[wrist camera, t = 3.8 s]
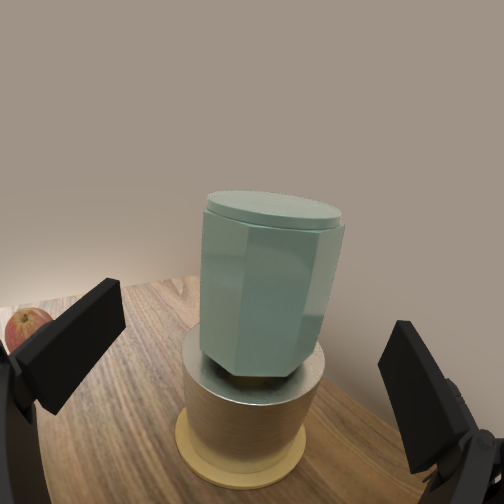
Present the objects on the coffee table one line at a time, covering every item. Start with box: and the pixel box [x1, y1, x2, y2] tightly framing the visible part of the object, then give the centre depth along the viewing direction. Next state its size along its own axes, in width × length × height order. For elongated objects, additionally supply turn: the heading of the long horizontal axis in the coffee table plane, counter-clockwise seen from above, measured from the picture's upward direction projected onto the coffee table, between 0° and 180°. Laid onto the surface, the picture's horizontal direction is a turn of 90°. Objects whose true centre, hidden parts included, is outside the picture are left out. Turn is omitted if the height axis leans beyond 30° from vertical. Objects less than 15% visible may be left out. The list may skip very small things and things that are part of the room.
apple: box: [5, 308, 53, 354], centre depth 26 cm, size 9×9×8 cm
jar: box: [199, 190, 345, 377], centre depth 18 cm, size 8×8×10 cm
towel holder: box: [175, 322, 325, 490], centre depth 20 cm, size 14×14×24 cm
